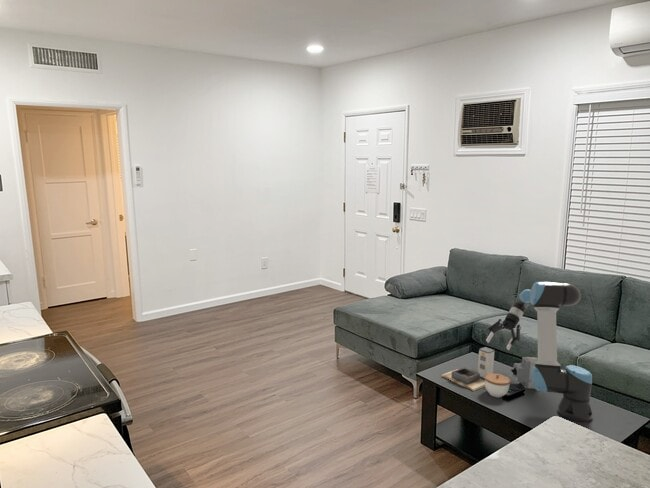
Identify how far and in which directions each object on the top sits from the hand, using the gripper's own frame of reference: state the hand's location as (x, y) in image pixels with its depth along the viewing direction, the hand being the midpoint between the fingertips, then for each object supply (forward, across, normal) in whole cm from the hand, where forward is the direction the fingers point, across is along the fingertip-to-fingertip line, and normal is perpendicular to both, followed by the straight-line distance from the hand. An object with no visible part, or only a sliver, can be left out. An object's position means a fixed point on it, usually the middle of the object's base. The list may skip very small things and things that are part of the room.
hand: (497, 345), depth 275 cm
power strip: (+19, 0, -5) cm, 19 cm away
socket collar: (+29, +2, +7) cm, 29 cm away
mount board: (+29, +2, +6) cm, 30 cm away
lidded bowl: (+29, -18, +6) cm, 35 cm away
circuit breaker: (+13, -20, -10) cm, 26 cm away
